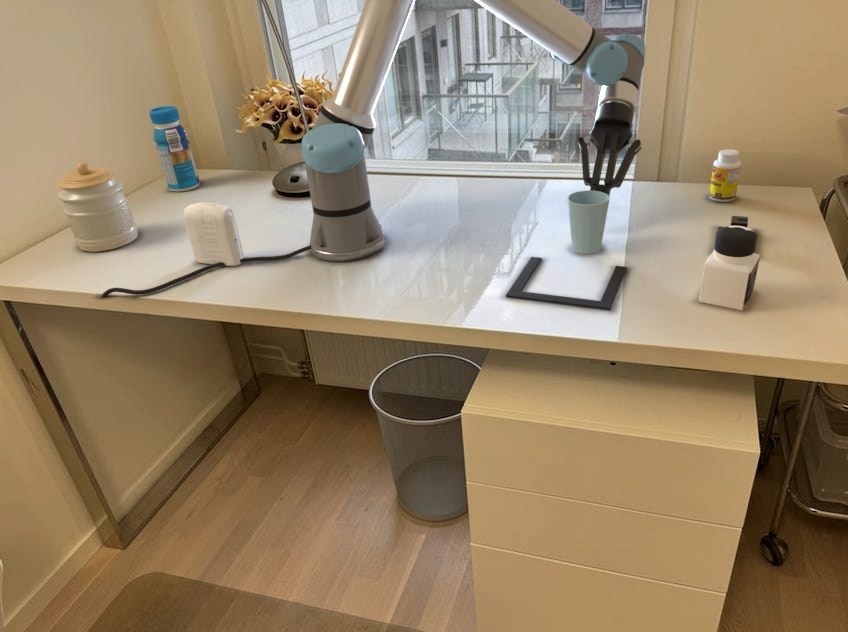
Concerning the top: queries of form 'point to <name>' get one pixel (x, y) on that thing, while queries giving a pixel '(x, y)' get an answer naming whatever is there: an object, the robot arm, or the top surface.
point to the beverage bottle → (174, 149)
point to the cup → (587, 220)
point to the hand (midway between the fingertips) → (595, 217)
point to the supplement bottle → (725, 176)
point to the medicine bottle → (730, 269)
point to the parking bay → (603, 304)
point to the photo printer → (213, 234)
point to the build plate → (740, 223)
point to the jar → (97, 209)
